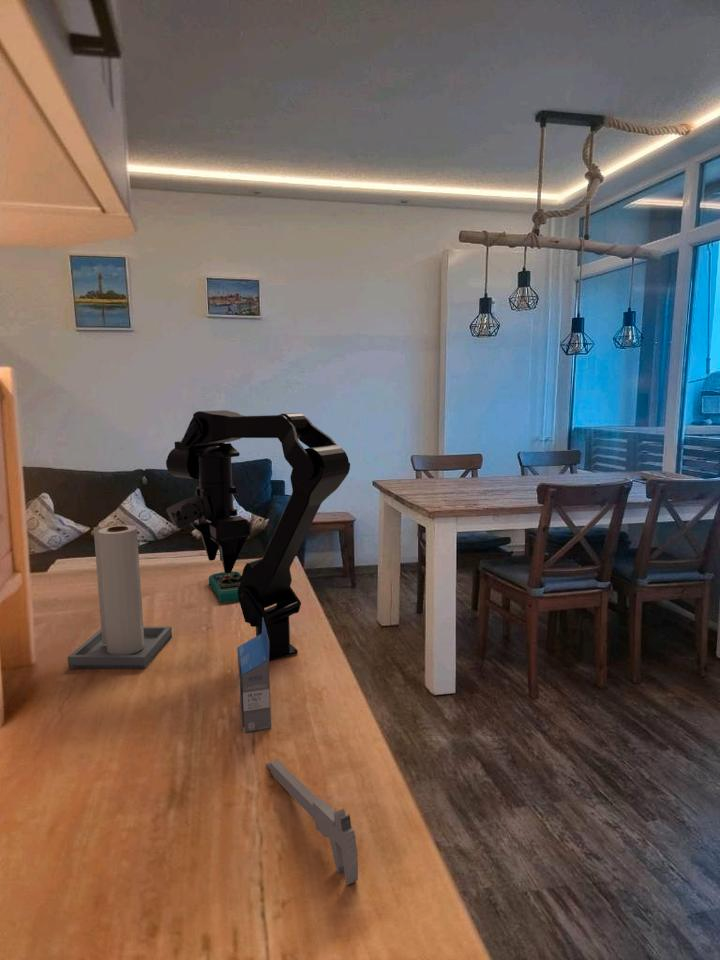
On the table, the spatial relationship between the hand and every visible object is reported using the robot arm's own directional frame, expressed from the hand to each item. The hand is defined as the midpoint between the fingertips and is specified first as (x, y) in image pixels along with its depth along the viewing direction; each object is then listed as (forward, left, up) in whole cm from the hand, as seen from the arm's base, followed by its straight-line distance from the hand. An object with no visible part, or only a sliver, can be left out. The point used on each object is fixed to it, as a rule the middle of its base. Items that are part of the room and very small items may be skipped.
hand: (219, 566), depth 106 cm
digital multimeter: (+23, -9, -14) cm, 28 cm away
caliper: (-51, +8, -14) cm, 53 cm away
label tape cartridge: (-29, +5, -13) cm, 32 cm away
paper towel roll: (+2, +17, -13) cm, 21 cm away
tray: (+2, +17, -13) cm, 21 cm away
